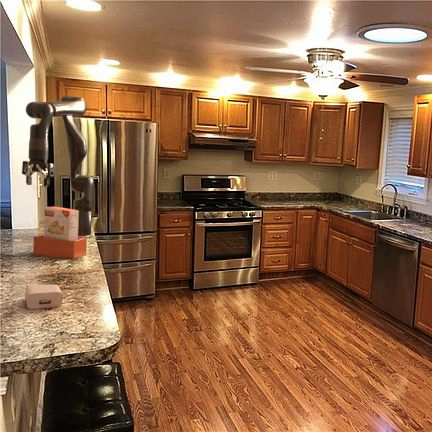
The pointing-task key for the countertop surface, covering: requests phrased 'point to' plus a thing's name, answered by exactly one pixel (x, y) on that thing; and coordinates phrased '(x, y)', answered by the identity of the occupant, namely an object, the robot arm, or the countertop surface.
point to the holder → (59, 247)
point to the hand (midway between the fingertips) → (37, 185)
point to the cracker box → (61, 223)
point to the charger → (43, 296)
